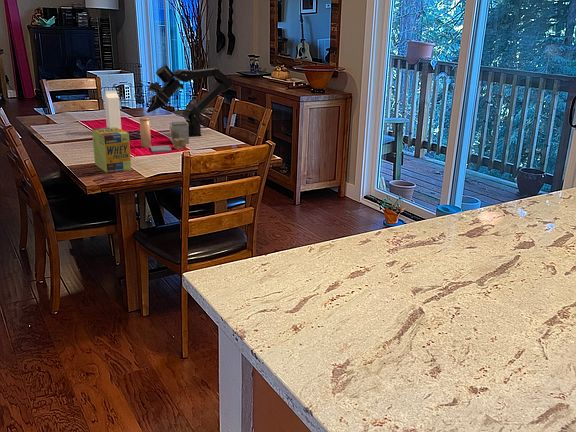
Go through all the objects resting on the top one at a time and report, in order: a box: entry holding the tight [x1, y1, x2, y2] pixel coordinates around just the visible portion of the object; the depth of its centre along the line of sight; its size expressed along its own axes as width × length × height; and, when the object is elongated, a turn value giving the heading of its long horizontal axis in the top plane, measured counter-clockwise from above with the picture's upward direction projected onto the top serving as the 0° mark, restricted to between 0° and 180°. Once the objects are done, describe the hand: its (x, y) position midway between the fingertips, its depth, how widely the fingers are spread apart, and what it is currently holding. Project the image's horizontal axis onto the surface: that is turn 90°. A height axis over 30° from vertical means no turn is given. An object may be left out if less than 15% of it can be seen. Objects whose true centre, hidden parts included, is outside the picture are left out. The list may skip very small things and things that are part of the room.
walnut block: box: [172, 138, 187, 151], centre depth 267 cm, size 4×4×4 cm
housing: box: [169, 121, 190, 145], centre depth 278 cm, size 8×8×10 cm
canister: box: [138, 116, 152, 149], centre depth 267 cm, size 5×5×14 cm
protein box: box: [91, 127, 132, 174], centre depth 231 cm, size 10×15×16 cm
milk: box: [103, 89, 122, 130], centre depth 291 cm, size 6×6×22 cm
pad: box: [149, 144, 173, 153], centre depth 264 cm, size 9×9×1 cm
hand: (148, 111), depth 276 cm, fingers open, 9 cm apart
